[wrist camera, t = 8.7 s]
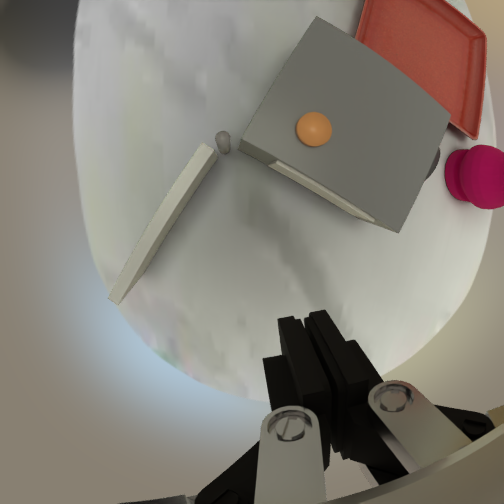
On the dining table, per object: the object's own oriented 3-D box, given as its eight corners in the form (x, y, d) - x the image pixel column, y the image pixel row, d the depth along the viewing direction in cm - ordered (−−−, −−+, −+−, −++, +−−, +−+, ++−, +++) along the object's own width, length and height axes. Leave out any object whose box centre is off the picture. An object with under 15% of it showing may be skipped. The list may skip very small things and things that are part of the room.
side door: (232, 147, 27) (233, 136, 20) (147, 277, 30) (123, 308, 22) (218, 138, 27) (215, 124, 19) (134, 269, 29) (107, 298, 22)
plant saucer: (474, 39, 26) (488, 33, 22) (461, 144, 29) (478, 143, 26) (366, -30, 23) (376, -43, 20) (336, 71, 27) (347, 61, 23)
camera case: (295, 51, 25) (319, 11, 17) (413, 131, 28) (465, 122, 20) (236, 151, 28) (239, 140, 19) (366, 226, 30) (412, 245, 22)
